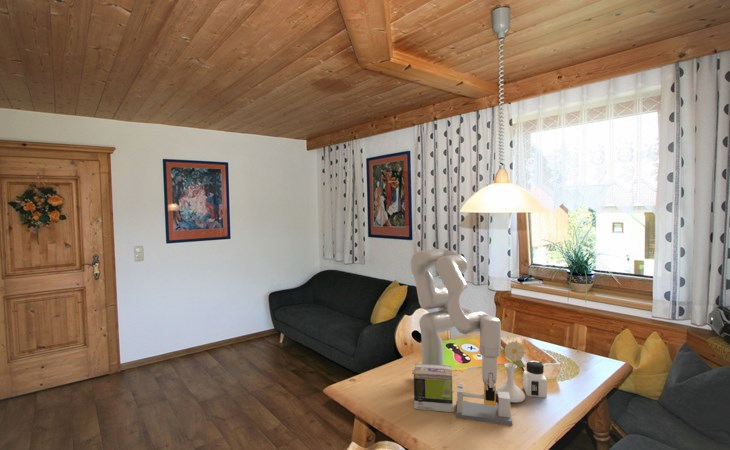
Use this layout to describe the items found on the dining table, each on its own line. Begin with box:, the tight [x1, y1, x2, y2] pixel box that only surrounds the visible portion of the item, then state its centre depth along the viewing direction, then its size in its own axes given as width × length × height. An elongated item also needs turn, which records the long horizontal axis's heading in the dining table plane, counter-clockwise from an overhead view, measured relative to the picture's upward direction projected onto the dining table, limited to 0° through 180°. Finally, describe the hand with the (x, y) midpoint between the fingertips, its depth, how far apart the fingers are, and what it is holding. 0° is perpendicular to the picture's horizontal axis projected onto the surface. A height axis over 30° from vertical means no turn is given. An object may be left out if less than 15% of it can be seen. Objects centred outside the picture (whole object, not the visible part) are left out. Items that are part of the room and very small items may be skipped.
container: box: [522, 360, 548, 399], centre depth 159 cm, size 8×8×13 cm
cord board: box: [455, 382, 513, 426], centre depth 143 cm, size 20×10×10 cm, turn 75°
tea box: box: [413, 363, 454, 413], centre depth 150 cm, size 15×10×15 cm, turn 78°
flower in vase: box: [496, 340, 526, 403], centre depth 154 cm, size 13×11×25 cm
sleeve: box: [483, 382, 497, 406], centre depth 142 cm, size 4×4×8 cm
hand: (489, 396), depth 142 cm, fingers closed on sleeve, 4 cm apart
